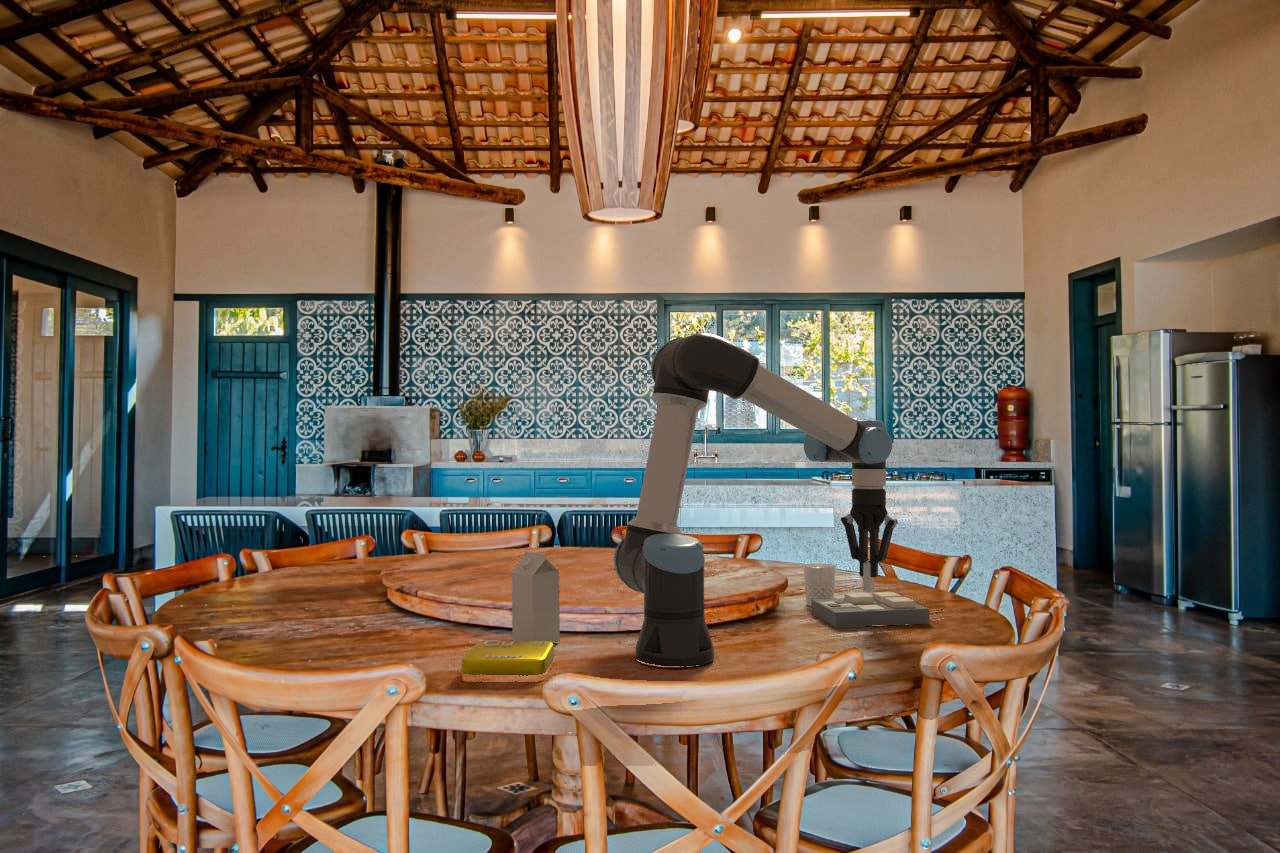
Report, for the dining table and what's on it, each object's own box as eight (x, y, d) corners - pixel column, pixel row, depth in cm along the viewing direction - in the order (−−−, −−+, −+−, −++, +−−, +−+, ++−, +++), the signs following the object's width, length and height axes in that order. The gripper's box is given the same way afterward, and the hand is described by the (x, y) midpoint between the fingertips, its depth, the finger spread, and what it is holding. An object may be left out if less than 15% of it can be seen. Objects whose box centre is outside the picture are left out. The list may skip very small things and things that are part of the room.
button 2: (864, 620, 199) (864, 609, 199) (855, 615, 204) (855, 605, 204) (885, 619, 200) (885, 608, 200) (876, 615, 205) (876, 604, 205)
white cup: (838, 607, 220) (838, 567, 220) (806, 608, 220) (806, 567, 220) (832, 601, 228) (831, 562, 228) (801, 602, 228) (801, 563, 228)
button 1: (852, 607, 206) (852, 597, 206) (844, 603, 211) (844, 593, 211) (872, 606, 207) (872, 596, 207) (864, 602, 212) (864, 592, 212)
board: (835, 628, 196) (835, 610, 196) (811, 614, 212) (811, 597, 212) (929, 624, 200) (929, 606, 200) (898, 610, 215) (898, 594, 215)
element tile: (459, 685, 156) (458, 657, 156) (478, 663, 171) (477, 638, 171) (543, 684, 155) (543, 657, 156) (555, 663, 170) (555, 638, 171)
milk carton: (539, 638, 190) (538, 549, 190) (560, 643, 185) (559, 552, 185) (512, 644, 185) (511, 552, 185) (533, 649, 180) (532, 555, 180)
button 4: (893, 612, 200) (893, 601, 200) (884, 608, 205) (884, 597, 205) (914, 611, 201) (914, 600, 201) (905, 607, 206) (904, 596, 206)
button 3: (881, 606, 207) (881, 596, 207) (872, 602, 212) (872, 592, 212) (901, 605, 208) (901, 595, 208) (892, 601, 213) (892, 591, 213)
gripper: (902, 488, 202) (902, 592, 201) (848, 486, 209) (848, 586, 209) (890, 489, 196) (890, 596, 195) (835, 487, 203) (835, 590, 203)
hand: (868, 591), depth 202 cm, fingers closed
